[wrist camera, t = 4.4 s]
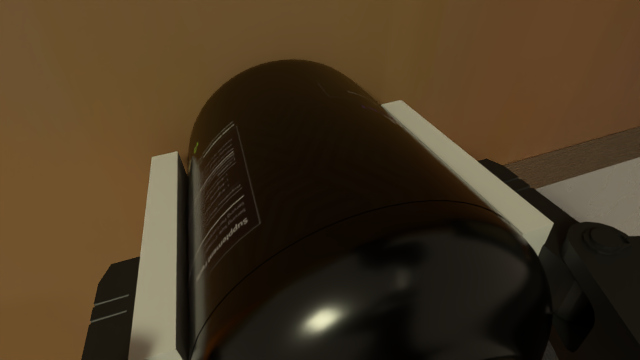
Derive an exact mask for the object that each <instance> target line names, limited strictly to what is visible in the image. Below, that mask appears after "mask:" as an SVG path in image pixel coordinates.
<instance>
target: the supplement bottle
mask: <svg viewBox="0 0 640 360" xmlns="http://www.w3.org/2000/svg"><path fill="white" fill-rule="evenodd" d="M188 299H189V360H542V358H543V355H544V353H545V350H546V347H547V343H548V340H549V337H550V332H551V326H552V319H553V308H552V296H551V291H550V287H549V283H548V279H547V276H546V273H545V270H544V268H543V266H542V263H541V261H540V259H539V257H538V255H537V254H536V252H535V251H534V249H533V248H532V246H531V245H530V244H529V243H528V241H527V240H526V239H525V238H524V237H523V236H522V235H521V234H520V233H519V232H518V231H517V230H516V229H515V228H514V227H513V226H512V225H511V224H510V223H509V222H508V221H507V220H506V219H505V218H504V217H503V216H502V215H501V214H500V213H498V212H497V211H496V210H495V209H494V208H493V207H492V206H491V205H490V204H489V203H487V202H486V201H485V200H484V199H483V198H482V197H481V196H480V195H479V194H478V193H476V192H475V191H474V190H473V189H472V188H471V187H470V186H469V185H468V184H467V183H465V182H464V181H463V180H462V179H461V178H460V177H459V176H458V175H457V174H456V173H454V172H453V171H452V170H451V169H450V168H449V167H448V166H447V165H446V164H445V163H443V162H442V161H441V160H440V159H439V158H438V157H437V156H436V155H435V154H434V153H432V152H431V151H430V150H429V149H428V148H427V147H426V146H425V145H424V144H423V143H421V142H420V141H419V140H418V139H417V138H416V137H415V136H414V135H413V134H412V133H410V132H409V131H408V130H407V129H406V128H405V127H404V126H403V125H402V124H400V123H399V122H398V121H397V120H396V119H395V118H394V117H393V116H392V115H391V114H389V113H388V112H387V111H386V110H385V109H384V108H383V107H382V106H381V105H380V104H378V103H377V102H376V101H375V100H374V99H373V98H372V97H371V96H370V95H369V94H367V93H366V92H365V91H364V90H363V89H362V88H360V87H359V86H358V85H357V84H356V83H354V82H353V81H352V80H351V79H350V78H348V77H347V76H345V75H344V74H342V73H341V72H339V71H337V70H335V69H333V68H331V67H329V66H326V65H323V64H320V63H316V62H312V61H306V60H279V61H272V62H268V63H264V64H260V65H257V66H255V67H252V68H249V69H247V70H245V71H243V72H241V73H239V74H238V75H236V76H235V77H233V78H231V79H230V80H229V81H227V82H226V83H225V84H223V85H222V86H221V87H220V88H219V89H218V90H217V91H216V92H215V93H214V94H213V95H212V96H211V97H210V99H209V100H208V101H207V102H206V104H205V105H204V107H203V108H202V110H201V112H200V113H199V115H198V117H197V119H196V122H195V124H194V127H193V130H192V133H191V138H190V144H189V153H188Z"/></svg>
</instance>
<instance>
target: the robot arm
mask: <svg viewBox="0 0 640 360" xmlns="http://www.w3.org/2000/svg"><path fill="white" fill-rule="evenodd" d="M381 106H382V107H383V108H384V109H385V110H386V111H387V112H388V113H389V114H391V115H392V116H393V117H394V118H395V119H396V120H397V121H398V122H399V123H400V124H402V125H403V126H404V127H405V128H406V129H407V130H408V131H409V132H410V133H412V134H413V135H414V136H415V137H416V138H417V139H418V140H419V141H420V142H421V143H423V144H424V145H425V146H426V147H427V148H428V149H429V150H430V151H431V152H432V153H434V154H435V155H436V156H437V157H438V158H439V159H440V160H441V161H442V162H443V163H445V164H446V165H447V166H448V167H449V168H450V169H451V170H452V171H453V172H454V173H456V174H457V175H458V176H459V177H460V178H461V179H462V180H463V181H464V182H465V183H467V184H468V185H469V186H470V187H471V188H472V189H473V190H474V191H475V192H476V193H478V194H479V195H480V196H481V197H482V198H483V199H484V200H485V201H486V202H487V203H489V204H490V205H491V206H492V207H493V208H494V209H495V210H496V211H497V212H498V213H500V214H501V215H502V216H503V217H504V218H505V219H506V220H507V221H508V222H509V223H510V224H511V225H512V226H513V227H514V228H515V229H516V230H517V231H518V232H519V233H520V234H521V235H522V236H523V237H524V238H525V239H526V240H527V241H528V243H529V244H530V245H531V246H532V248H533V249H534V251H535V252H536V254H537V255H538V257H539V259H540V261H541V263H542V266H543V268H544V270H545V273H546V276H547V279H548V283H549V287H550V291H551V296H552V308H553V319H552V326H551V332H550V337H549V341H550V343H551V345H552V347H553V349H554V351H555V353H556V355H557V357H558V359H559V360H640V236H628V235H627V234H625V233H624V232H622V231H620V230H618V229H616V228H614V227H612V226H608V225H605V224H602V223H597V222H581V223H580V222H578V221H577V220H575V219H574V218H572V217H571V216H570V215H569V214H567V213H566V212H565V211H563V210H562V209H561V208H559V207H558V206H557V205H555V204H554V203H553V202H551V201H550V200H549V199H547V198H546V197H545V196H543V195H542V194H541V193H539V192H538V191H537V190H535V189H534V188H530V185H529V184H527V183H526V182H525V181H523V180H522V179H519V177H518V176H517V175H515V174H514V173H513V172H511V171H510V170H509V169H507V168H506V167H505V166H503V165H500V164H498V163H495V162H493V161H491V160H488V159H484V160H480V161H476V160H475V159H474V158H473V157H471V156H470V155H469V154H468V153H466V152H465V151H464V150H463V149H461V148H460V147H459V146H458V145H456V144H455V143H454V142H453V141H451V140H450V139H449V138H448V137H446V136H445V135H444V134H443V133H442V132H440V131H439V130H438V129H437V128H435V127H434V126H433V125H432V124H430V123H429V122H428V121H427V120H425V119H424V118H423V117H422V116H420V115H419V114H418V113H417V112H415V111H414V110H413V109H412V108H411V107H409V106H408V105H407V104H406V103H404V102H403V101H402V100H399V101H395V102H390V103H386V104H382V105H381ZM94 305H95V307H94V308H93V310H92V315H91V319H90V321H91V324H90V325H89V328H88V332H87V337H86V341H85V346H84V350H83V355H82V359H81V360H189V299H188V177H187V174H186V172H185V169H184V166H183V164H182V161H181V159H180V156H179V154H178V151H176V152H172V153H168V154H163V155H159V156H155V157H152V161H151V169H150V178H149V186H148V195H147V203H146V212H145V220H144V229H143V237H142V246H141V254H140V257H136V258H132V259H129V260H125V261H122V262H118V263H114V264H111V266H110V267H109V269H108V270H107V272H106V273H105V275H104V276H103V278H102V279H101V281H100V282H99V284H98V288H97V292H96V297H95V301H94Z"/></svg>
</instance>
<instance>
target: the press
mask: <svg viewBox="0 0 640 360" xmlns="http://www.w3.org/2000/svg"><path fill="white" fill-rule="evenodd" d="M504 166H505V167H506V168H507V169H509V170H510V171H511V172H513V173H514V174H515V175H517V176H518V177H519V179H522V180H523V181H525V182H526V183H527V184H529V185H530V188H534V189H535V190H537V191H538V192H539V193H541V194H542V195H543V196H545V197H546V198H547V199H549V200H550V201H551V202H553V203H554V204H555V205H557V206H558V207H559V208H561V209H562V210H563V211H565V212H566V213H567V214H569V215H570V216H571V217H572V218H574V219H575V220H577V221H578V222H580V223H581V222H597V223H602V224H605V225H608V226H612V227H614V228H616V229H618V230H620V231H622V232H624V233H625V234H627V235H628V236H640V127H638V128H634V129H631V130H627V131H624V132H620V133H617V134H613V135H610V136H606V137H603V138H599V139H596V140H592V141H588V142H585V143H581V144H578V145H574V146H571V147H567V148H564V149H560V150H557V151H553V152H550V153H546V154H543V155H539V156H536V157H532V158H529V159H525V160H522V161H518V162H515V163H511V164H508V165H504Z"/></svg>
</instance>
